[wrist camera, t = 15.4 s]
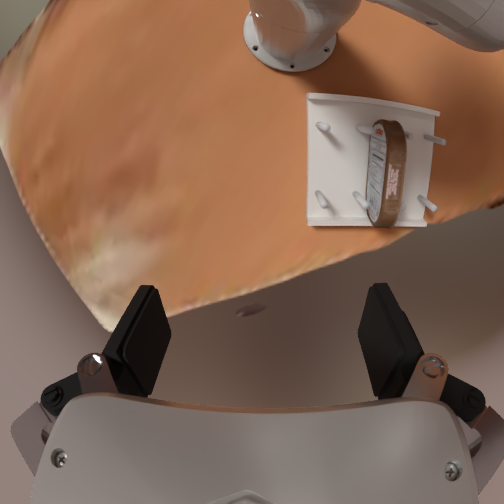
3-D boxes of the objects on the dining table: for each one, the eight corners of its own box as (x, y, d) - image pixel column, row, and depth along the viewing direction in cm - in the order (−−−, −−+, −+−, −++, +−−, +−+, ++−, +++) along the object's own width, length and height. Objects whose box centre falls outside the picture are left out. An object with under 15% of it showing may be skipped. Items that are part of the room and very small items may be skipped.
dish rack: (306, 93, 32) (313, 90, 27) (430, 110, 31) (453, 113, 25) (305, 218, 42) (311, 236, 36) (419, 220, 40) (436, 236, 35)
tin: (377, 214, 39) (398, 239, 32) (359, 214, 39) (377, 239, 32) (385, 118, 32) (413, 123, 24) (365, 116, 32) (390, 119, 25)
